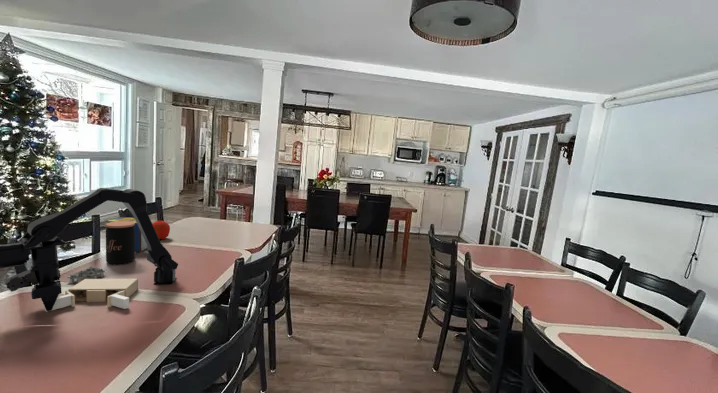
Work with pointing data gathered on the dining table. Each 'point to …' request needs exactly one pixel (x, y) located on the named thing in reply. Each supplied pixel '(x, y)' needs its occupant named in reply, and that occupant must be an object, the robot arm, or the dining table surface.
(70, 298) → the flap
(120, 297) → the flap
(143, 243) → the protein box
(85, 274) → the egg carton
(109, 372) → the dining table surface
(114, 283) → the carton
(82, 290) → the cocoa tin
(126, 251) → the coffee jar
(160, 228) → the apple
